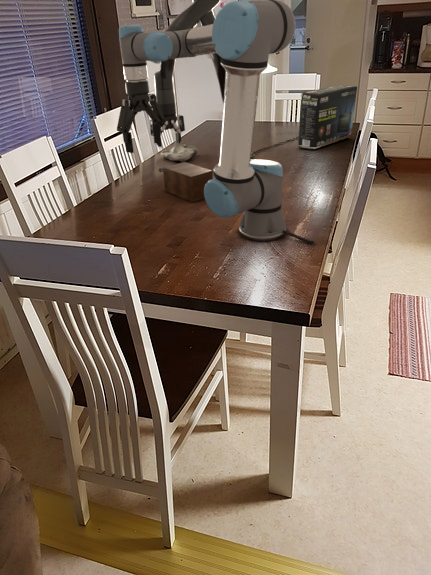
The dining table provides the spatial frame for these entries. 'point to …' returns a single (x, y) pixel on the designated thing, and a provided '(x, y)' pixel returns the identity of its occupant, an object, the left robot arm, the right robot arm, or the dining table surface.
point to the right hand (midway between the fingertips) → (144, 147)
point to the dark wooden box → (187, 180)
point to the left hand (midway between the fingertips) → (169, 144)
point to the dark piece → (164, 174)
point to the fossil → (179, 152)
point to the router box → (326, 115)
